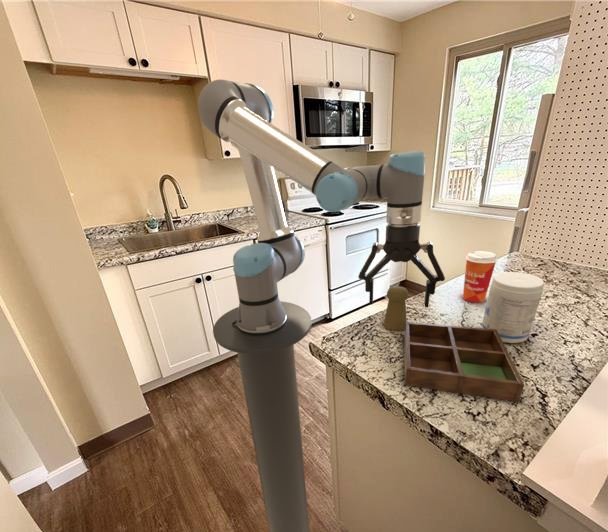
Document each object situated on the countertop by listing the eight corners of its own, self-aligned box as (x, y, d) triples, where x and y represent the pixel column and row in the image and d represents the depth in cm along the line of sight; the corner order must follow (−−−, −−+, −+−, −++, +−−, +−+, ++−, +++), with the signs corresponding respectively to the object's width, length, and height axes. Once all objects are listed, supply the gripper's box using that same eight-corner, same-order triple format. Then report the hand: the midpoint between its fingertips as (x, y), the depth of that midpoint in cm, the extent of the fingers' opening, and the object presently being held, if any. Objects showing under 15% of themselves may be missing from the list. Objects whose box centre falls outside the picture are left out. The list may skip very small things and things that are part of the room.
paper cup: (453, 296, 96) (460, 253, 90) (472, 291, 98) (480, 248, 92) (475, 306, 89) (484, 260, 84) (495, 300, 91) (505, 255, 86)
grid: (404, 384, 64) (406, 368, 62) (404, 335, 80) (405, 321, 78) (519, 402, 57) (524, 384, 55) (493, 344, 73) (496, 329, 71)
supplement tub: (479, 321, 82) (490, 269, 76) (523, 327, 78) (539, 272, 72) (482, 341, 74) (495, 285, 68) (532, 348, 70) (550, 288, 64)
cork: (406, 319, 87) (409, 283, 82) (407, 331, 82) (411, 293, 77) (383, 318, 89) (385, 283, 84) (383, 329, 83) (385, 292, 79)
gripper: (347, 229, 75) (348, 307, 84) (466, 225, 66) (453, 313, 74) (351, 222, 81) (351, 295, 90) (460, 218, 72) (449, 300, 81)
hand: (397, 303), depth 82 cm, fingers open, 13 cm apart
